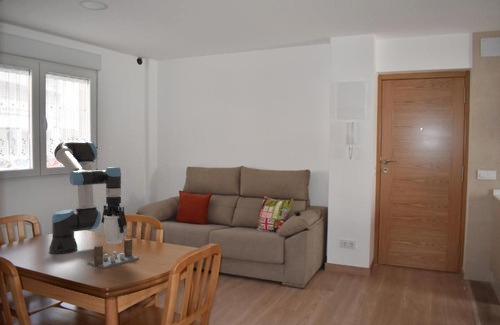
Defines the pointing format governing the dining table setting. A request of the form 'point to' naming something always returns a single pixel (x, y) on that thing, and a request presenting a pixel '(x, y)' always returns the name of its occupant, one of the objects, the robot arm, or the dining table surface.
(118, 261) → the peg stand
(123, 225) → the robot arm
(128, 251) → the frame posts
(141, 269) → the dining table surface
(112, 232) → the jar
